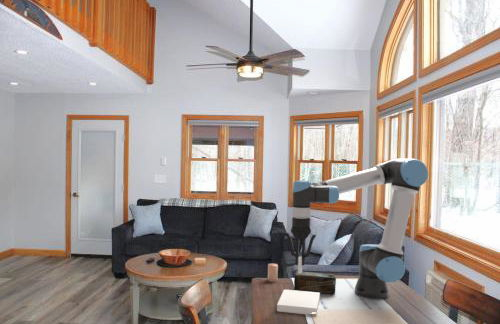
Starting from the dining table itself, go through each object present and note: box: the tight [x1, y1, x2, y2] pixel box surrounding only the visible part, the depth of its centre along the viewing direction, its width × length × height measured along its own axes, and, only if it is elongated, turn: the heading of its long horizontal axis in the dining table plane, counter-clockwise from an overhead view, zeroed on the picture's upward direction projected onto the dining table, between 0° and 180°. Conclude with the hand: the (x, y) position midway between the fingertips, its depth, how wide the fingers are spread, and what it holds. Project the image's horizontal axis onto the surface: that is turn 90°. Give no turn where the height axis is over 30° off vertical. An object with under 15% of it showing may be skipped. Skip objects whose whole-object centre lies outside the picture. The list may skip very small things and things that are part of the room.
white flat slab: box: [276, 288, 321, 315], centre depth 175 cm, size 16×20×3 cm
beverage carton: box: [293, 270, 337, 295], centre depth 194 cm, size 8×19×7 cm
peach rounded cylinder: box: [267, 263, 279, 283], centre depth 210 cm, size 5×5×8 cm
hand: (300, 272), depth 175 cm, fingers closed
